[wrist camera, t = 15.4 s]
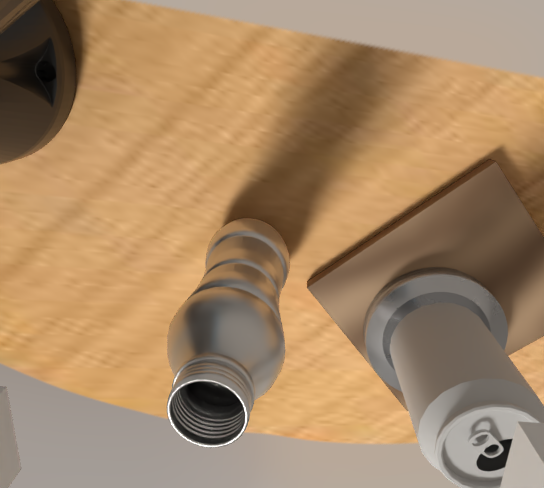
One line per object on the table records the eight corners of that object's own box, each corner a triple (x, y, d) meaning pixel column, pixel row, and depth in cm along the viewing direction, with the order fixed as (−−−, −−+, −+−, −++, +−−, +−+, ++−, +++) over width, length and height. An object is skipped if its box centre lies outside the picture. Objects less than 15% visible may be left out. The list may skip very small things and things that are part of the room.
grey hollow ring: (337, 315, 39) (338, 326, 38) (454, 240, 37) (461, 249, 35) (409, 404, 42) (413, 419, 40) (523, 341, 39) (533, 353, 38)
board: (307, 281, 40) (307, 287, 39) (489, 158, 36) (496, 161, 35) (404, 402, 43) (407, 411, 42) (581, 303, 39) (589, 310, 38)
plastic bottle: (271, 199, 38) (244, 325, 19) (302, 272, 40) (305, 452, 21) (198, 227, 39) (104, 373, 20) (232, 297, 41) (175, 489, 22)
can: (427, 395, 39) (478, 524, 28) (368, 337, 38) (397, 449, 27) (503, 342, 37) (591, 458, 26) (444, 278, 36) (510, 372, 25)
